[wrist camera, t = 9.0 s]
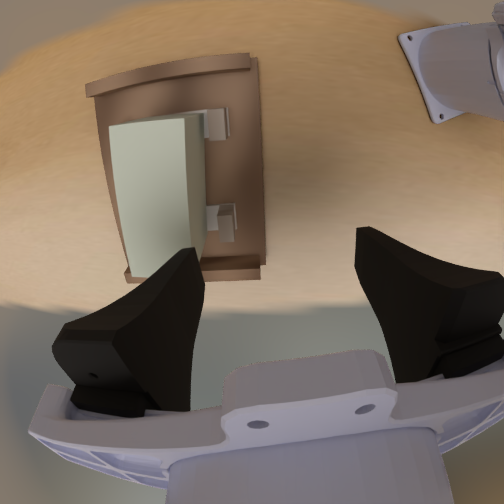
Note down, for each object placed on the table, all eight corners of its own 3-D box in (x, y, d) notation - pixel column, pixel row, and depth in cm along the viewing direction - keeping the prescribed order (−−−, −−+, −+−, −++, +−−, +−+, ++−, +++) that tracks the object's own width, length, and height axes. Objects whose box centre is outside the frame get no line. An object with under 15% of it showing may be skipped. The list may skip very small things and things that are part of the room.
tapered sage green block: (204, 112, 17) (184, 118, 12) (207, 233, 22) (194, 279, 16) (147, 116, 17) (108, 126, 12) (157, 232, 21) (132, 276, 16)
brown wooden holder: (256, 59, 16) (258, 51, 13) (265, 257, 24) (267, 281, 21) (100, 86, 17) (77, 86, 14) (134, 263, 25) (120, 285, 22)
